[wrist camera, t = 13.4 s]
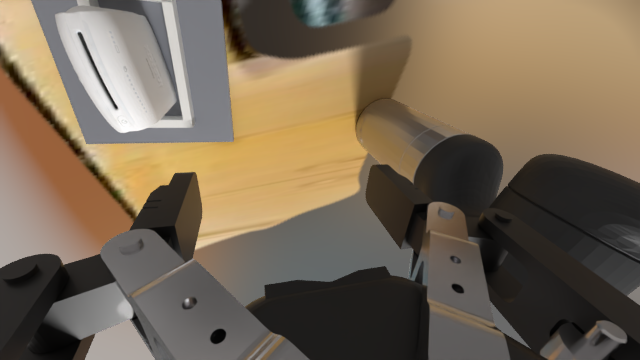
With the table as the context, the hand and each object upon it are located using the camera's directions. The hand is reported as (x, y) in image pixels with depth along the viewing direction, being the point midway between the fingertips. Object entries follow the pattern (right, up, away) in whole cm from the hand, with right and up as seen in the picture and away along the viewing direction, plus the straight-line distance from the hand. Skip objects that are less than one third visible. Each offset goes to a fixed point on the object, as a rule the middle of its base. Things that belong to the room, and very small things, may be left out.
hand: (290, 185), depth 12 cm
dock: (-19, +15, +19) cm, 31 cm away
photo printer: (-19, +14, +19) cm, 30 cm away
